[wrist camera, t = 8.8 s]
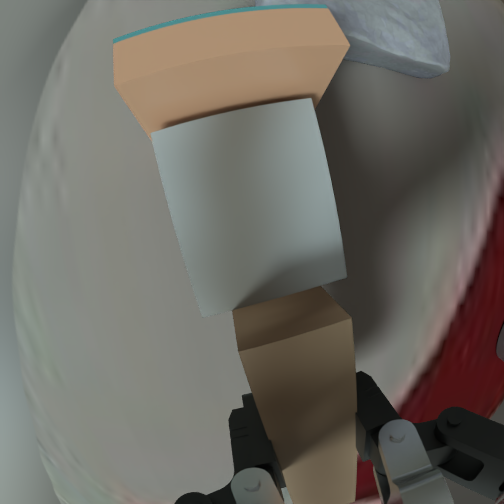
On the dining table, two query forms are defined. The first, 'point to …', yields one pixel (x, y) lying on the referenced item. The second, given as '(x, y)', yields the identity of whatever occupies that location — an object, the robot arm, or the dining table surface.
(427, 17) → the stone block
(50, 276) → the dining table surface
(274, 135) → the spatula
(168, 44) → the tile
